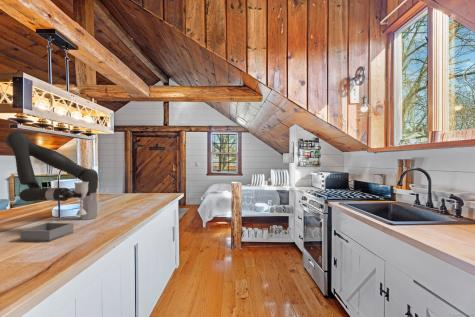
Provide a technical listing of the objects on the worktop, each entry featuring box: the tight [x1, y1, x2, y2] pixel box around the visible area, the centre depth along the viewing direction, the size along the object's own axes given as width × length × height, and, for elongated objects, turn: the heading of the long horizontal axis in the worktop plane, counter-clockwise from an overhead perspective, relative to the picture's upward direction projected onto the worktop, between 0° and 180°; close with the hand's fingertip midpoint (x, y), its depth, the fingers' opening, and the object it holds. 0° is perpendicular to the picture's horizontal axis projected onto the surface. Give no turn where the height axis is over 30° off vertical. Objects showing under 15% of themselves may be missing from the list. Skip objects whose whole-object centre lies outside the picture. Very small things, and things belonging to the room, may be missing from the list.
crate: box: [19, 222, 74, 243], centre depth 123 cm, size 15×15×5 cm
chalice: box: [73, 181, 89, 216], centre depth 137 cm, size 7×7×18 cm
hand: (85, 194), depth 136 cm, fingers closed on chalice, 6 cm apart
